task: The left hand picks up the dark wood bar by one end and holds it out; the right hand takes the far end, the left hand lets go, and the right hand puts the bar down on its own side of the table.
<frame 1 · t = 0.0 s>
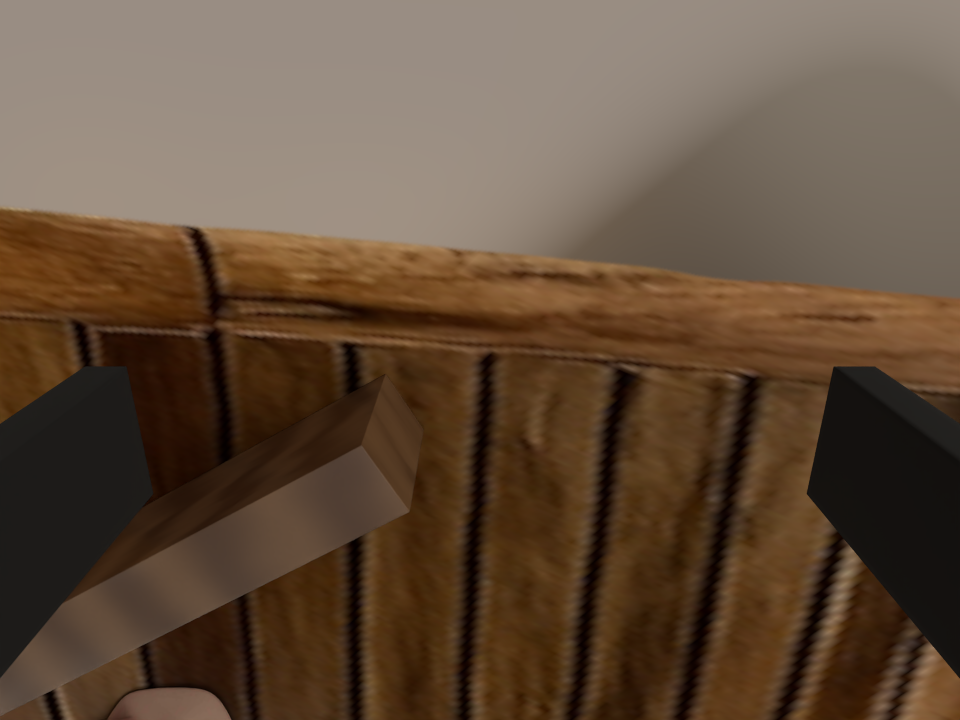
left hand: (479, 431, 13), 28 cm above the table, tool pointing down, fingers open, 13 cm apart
bar: (221, 500, 46), on the table
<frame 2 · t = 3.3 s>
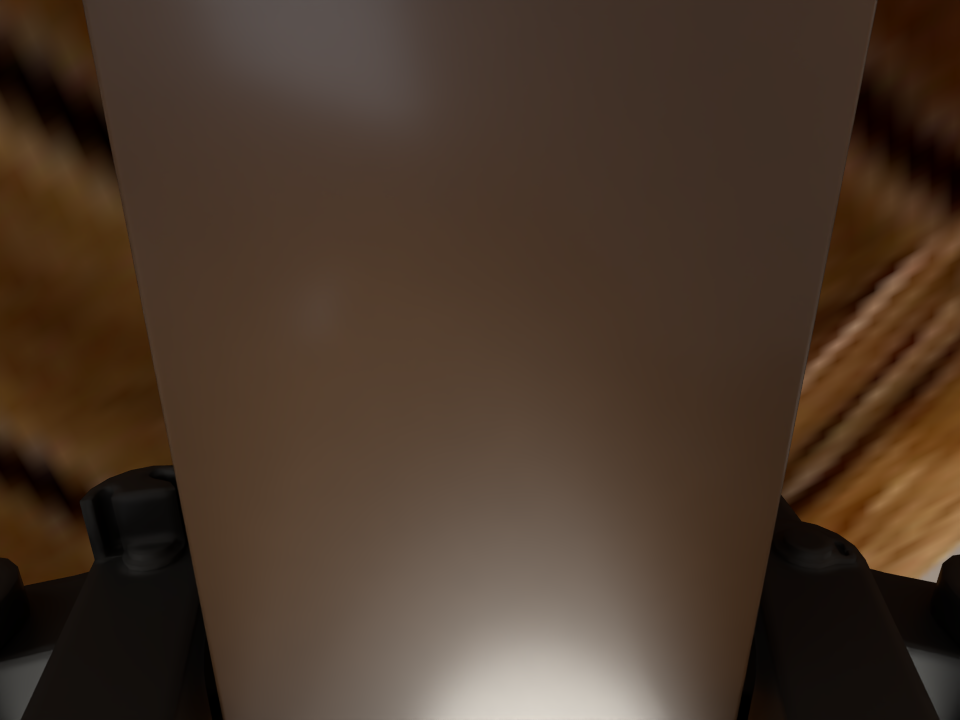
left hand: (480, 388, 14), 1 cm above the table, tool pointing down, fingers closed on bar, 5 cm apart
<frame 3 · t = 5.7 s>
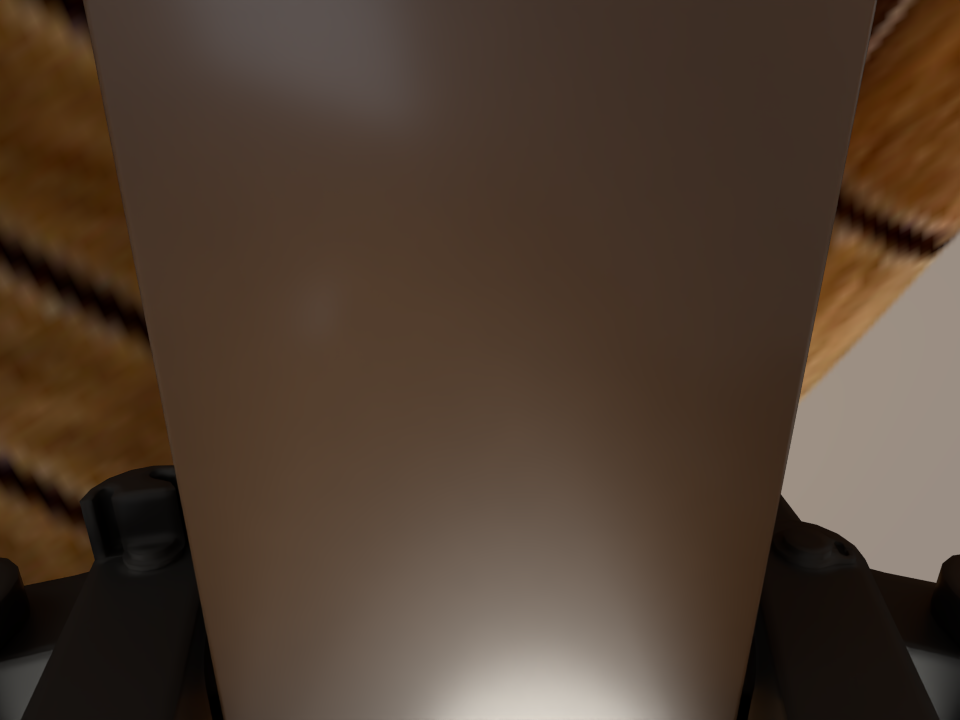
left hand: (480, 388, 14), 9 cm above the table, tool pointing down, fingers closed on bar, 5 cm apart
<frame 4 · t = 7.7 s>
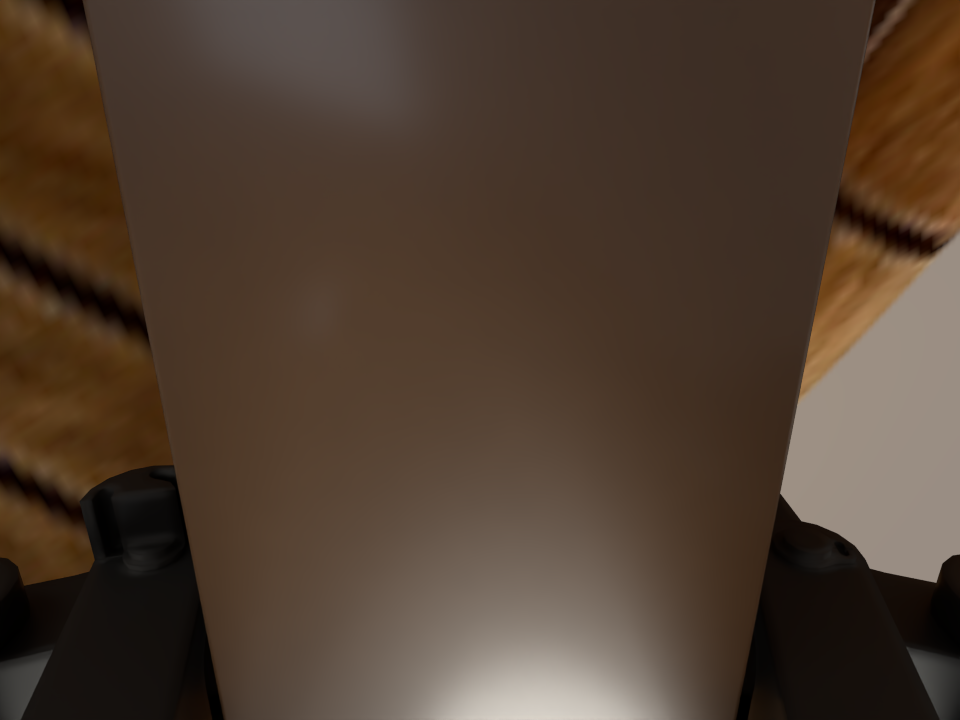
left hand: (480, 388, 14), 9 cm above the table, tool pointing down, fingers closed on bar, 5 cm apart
when the left hand's fingers open (9 cm above the table, at t = 8.4 s): bar stays where it is, held by the right hand.
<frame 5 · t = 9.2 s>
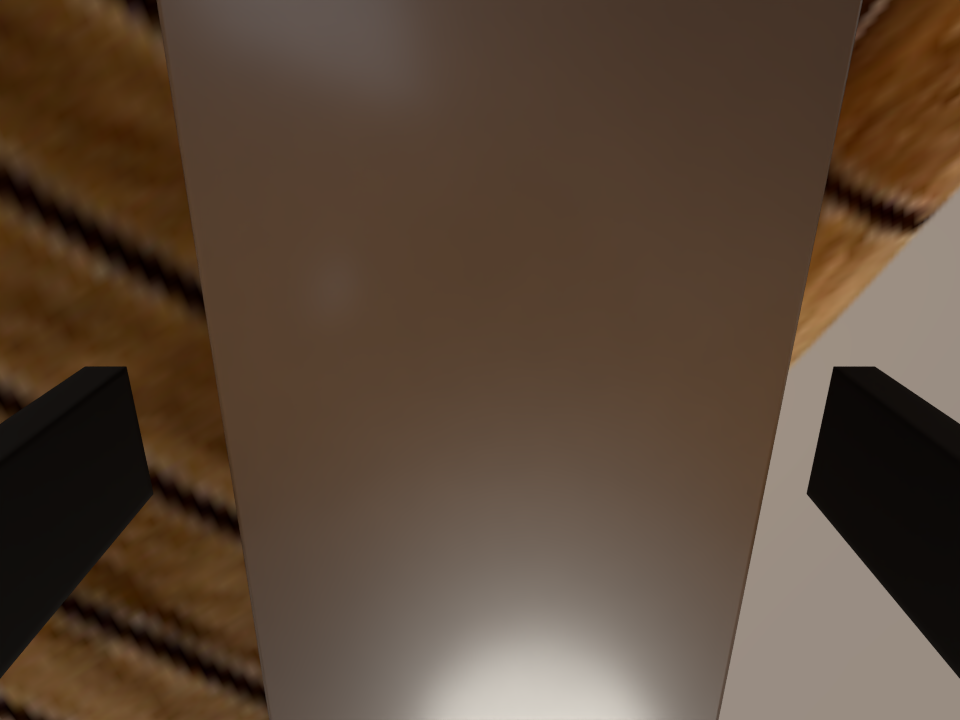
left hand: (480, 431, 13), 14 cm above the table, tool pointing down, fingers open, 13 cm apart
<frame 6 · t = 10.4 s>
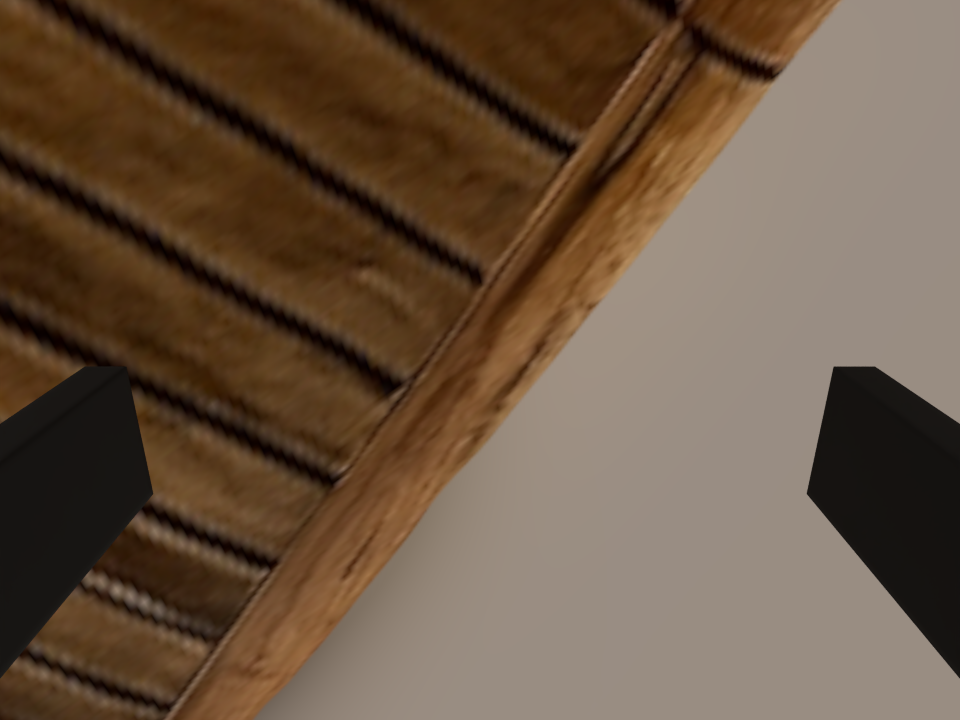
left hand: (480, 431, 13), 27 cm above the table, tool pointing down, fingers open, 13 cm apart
when the right hand's fingers open (2 cm above the table, at t = 13.3 s): bar drops 1 cm, on the table.
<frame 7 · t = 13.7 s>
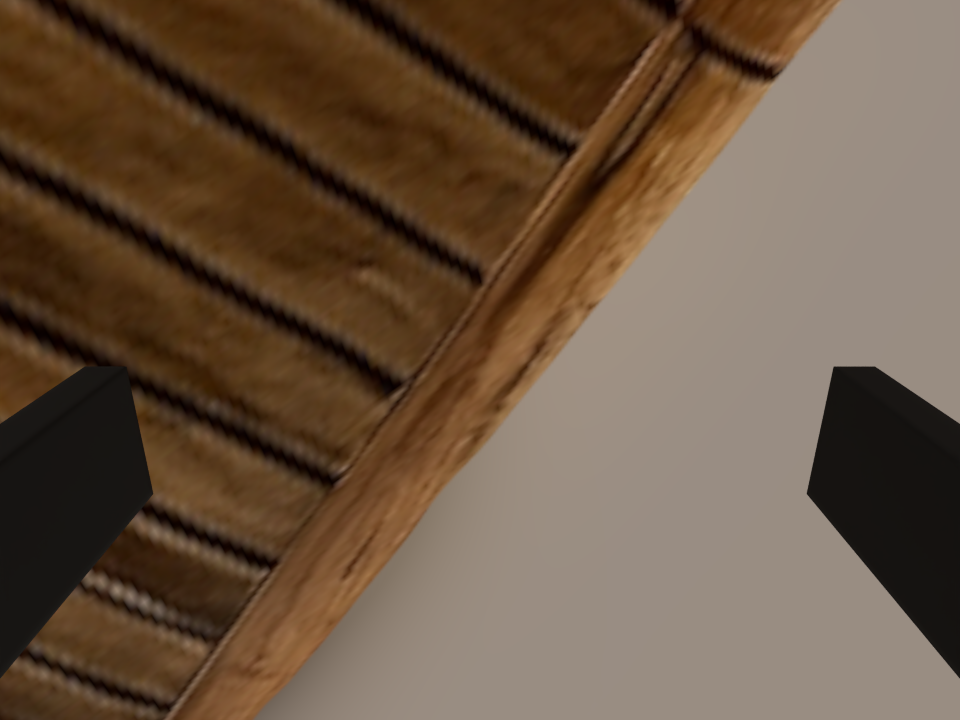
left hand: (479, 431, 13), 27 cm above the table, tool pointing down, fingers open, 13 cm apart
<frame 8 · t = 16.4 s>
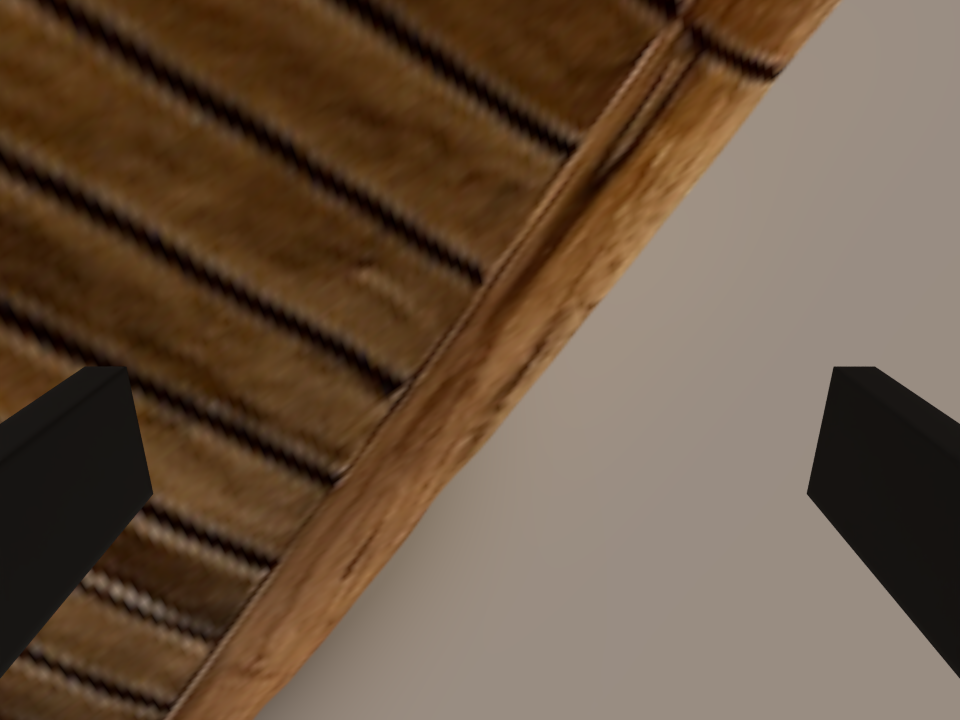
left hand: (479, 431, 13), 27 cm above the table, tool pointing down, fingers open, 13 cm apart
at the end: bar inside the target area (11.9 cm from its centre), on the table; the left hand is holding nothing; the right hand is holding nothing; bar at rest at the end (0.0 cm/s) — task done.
